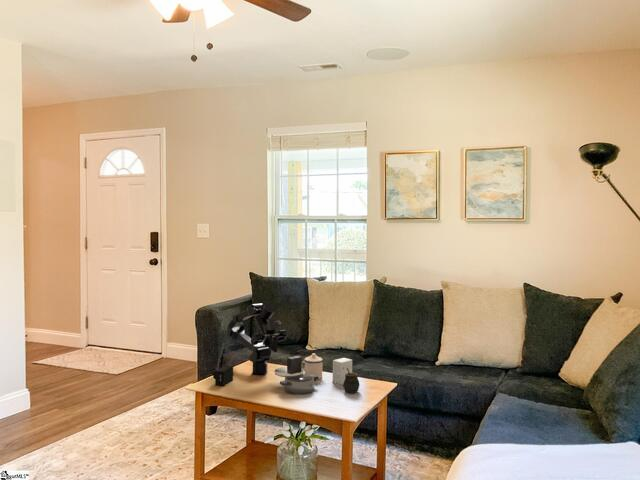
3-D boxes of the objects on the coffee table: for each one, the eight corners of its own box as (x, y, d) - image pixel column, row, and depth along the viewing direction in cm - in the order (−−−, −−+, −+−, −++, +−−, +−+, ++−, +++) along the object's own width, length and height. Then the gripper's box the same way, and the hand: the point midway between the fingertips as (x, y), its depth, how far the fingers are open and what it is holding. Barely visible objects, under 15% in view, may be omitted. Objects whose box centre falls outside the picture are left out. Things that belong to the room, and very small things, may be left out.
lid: (269, 372, 252) (269, 354, 252) (292, 367, 260) (292, 350, 260) (285, 379, 242) (286, 360, 241) (309, 374, 250) (309, 356, 250)
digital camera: (222, 379, 260) (222, 364, 260) (233, 380, 258) (233, 365, 258) (212, 385, 250) (212, 370, 250) (223, 386, 248) (223, 371, 248)
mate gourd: (350, 395, 239) (350, 372, 238) (339, 391, 245) (339, 369, 244) (362, 392, 243) (362, 370, 243) (351, 388, 249) (351, 366, 249)
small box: (343, 379, 263) (344, 357, 263) (352, 381, 259) (352, 359, 259) (332, 382, 258) (332, 360, 257) (340, 384, 254) (341, 362, 253)
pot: (273, 390, 244) (274, 378, 244) (306, 382, 256) (307, 371, 256) (291, 397, 234) (291, 385, 234) (324, 389, 246) (324, 377, 246)
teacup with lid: (326, 377, 266) (326, 353, 266) (315, 381, 258) (315, 357, 258) (306, 372, 273) (306, 349, 272) (295, 377, 265) (295, 353, 265)
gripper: (254, 317, 256) (266, 344, 248) (286, 313, 268) (299, 339, 260) (245, 331, 263) (257, 358, 255) (277, 326, 275) (289, 352, 266)
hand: (276, 352), depth 259 cm, fingers closed
